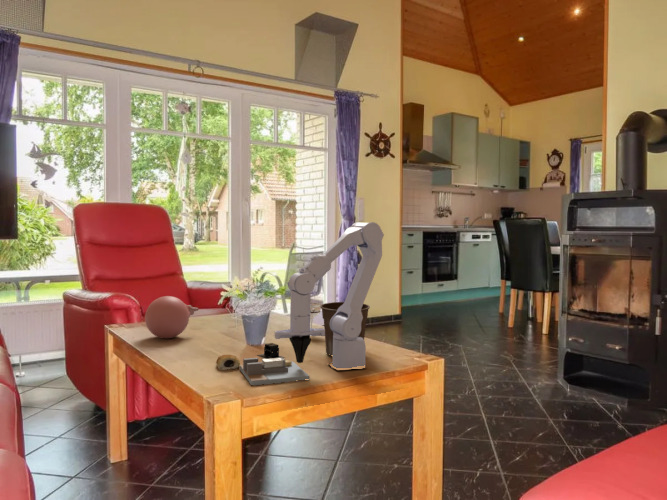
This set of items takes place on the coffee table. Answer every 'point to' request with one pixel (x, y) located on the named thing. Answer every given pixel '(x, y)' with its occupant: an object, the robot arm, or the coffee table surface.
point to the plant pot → (329, 312)
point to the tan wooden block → (273, 363)
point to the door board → (271, 372)
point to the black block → (270, 351)
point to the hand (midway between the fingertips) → (299, 362)
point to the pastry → (227, 362)
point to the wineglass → (314, 311)
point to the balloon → (168, 316)
